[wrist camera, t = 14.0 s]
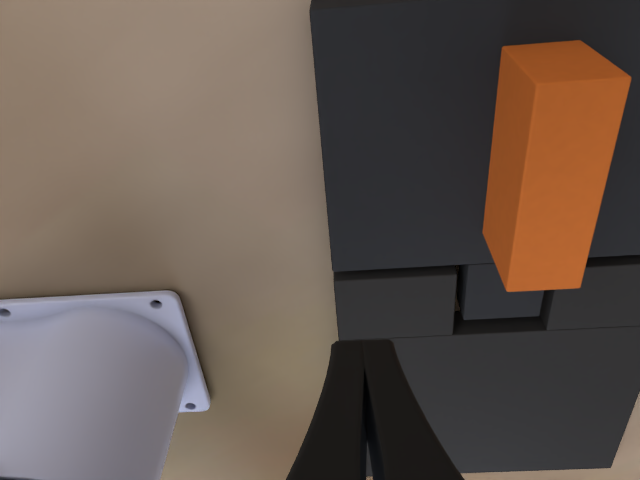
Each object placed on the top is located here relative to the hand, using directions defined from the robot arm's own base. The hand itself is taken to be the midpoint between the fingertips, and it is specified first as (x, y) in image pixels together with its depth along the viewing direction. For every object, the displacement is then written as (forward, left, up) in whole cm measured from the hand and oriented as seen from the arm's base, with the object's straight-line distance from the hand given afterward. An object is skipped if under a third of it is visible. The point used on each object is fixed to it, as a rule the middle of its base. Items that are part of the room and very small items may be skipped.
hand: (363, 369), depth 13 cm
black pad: (+6, -11, -10) cm, 16 cm away
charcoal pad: (+6, 0, -10) cm, 12 cm away
